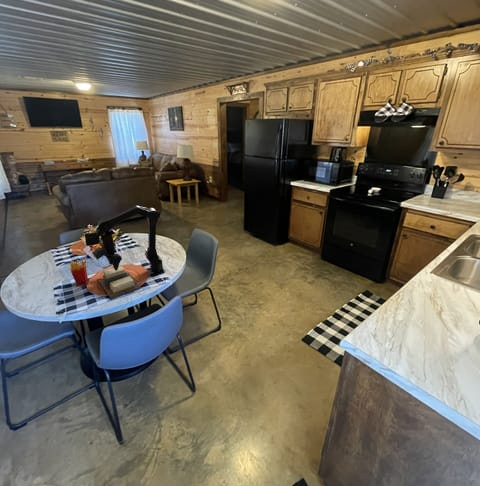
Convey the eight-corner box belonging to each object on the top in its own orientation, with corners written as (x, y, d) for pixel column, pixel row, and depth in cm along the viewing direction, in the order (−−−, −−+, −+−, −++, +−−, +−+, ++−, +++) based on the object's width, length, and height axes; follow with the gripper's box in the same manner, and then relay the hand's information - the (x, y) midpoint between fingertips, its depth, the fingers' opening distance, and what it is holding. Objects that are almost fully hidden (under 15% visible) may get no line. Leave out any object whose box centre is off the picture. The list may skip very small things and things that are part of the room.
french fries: (76, 281, 152) (70, 258, 146) (92, 278, 154) (87, 255, 149) (74, 289, 144) (67, 265, 138) (91, 286, 147) (84, 262, 141)
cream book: (121, 268, 155) (121, 265, 154) (125, 272, 151) (124, 269, 150) (103, 274, 149) (103, 271, 148) (107, 278, 145) (106, 275, 144)
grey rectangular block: (125, 273, 157) (123, 268, 156) (127, 277, 153) (126, 271, 152) (103, 280, 150) (102, 275, 148) (106, 284, 146) (104, 278, 145)
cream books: (130, 281, 149) (129, 275, 148) (134, 285, 145) (133, 280, 144) (110, 288, 143) (108, 282, 141) (113, 293, 139) (112, 287, 137)
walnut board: (127, 272, 160) (126, 271, 160) (141, 288, 145) (140, 286, 145) (99, 282, 151) (98, 280, 150) (110, 299, 135) (110, 297, 135)
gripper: (87, 240, 144) (93, 265, 150) (96, 252, 131) (103, 278, 137) (108, 235, 151) (114, 260, 157) (119, 245, 138) (124, 271, 144)
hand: (113, 267), depth 149 cm, fingers open, 9 cm apart
